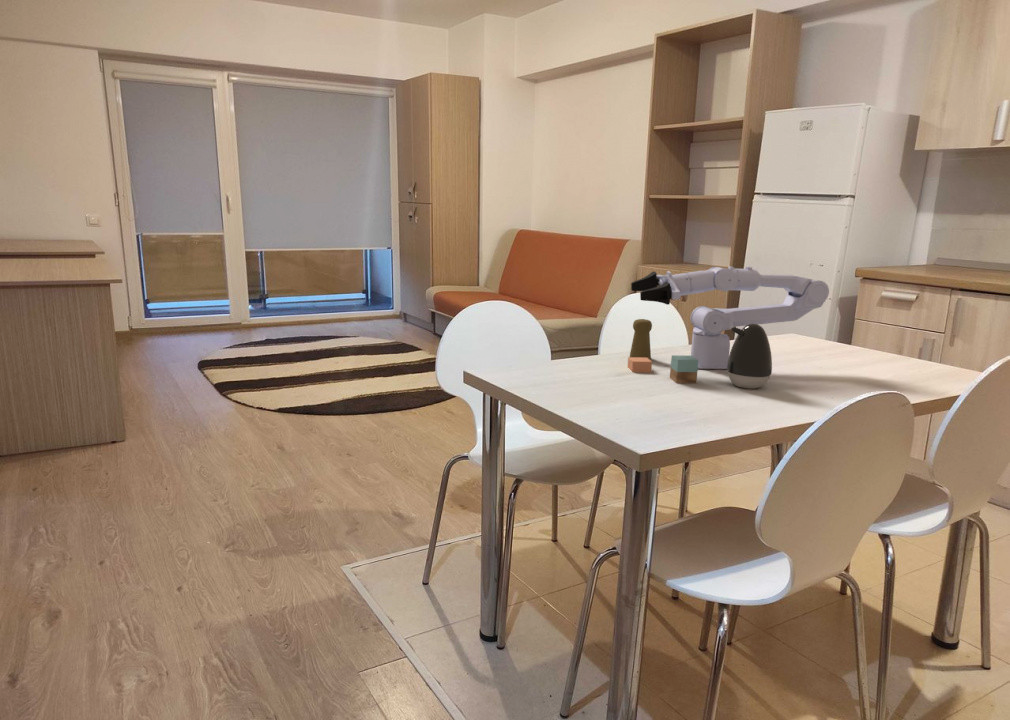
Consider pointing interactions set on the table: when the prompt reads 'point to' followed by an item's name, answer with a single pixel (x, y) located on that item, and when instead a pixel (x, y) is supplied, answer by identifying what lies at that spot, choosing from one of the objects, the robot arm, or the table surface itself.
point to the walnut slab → (683, 376)
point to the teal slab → (684, 363)
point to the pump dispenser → (750, 358)
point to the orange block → (639, 364)
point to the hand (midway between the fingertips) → (636, 291)
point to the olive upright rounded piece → (641, 339)
